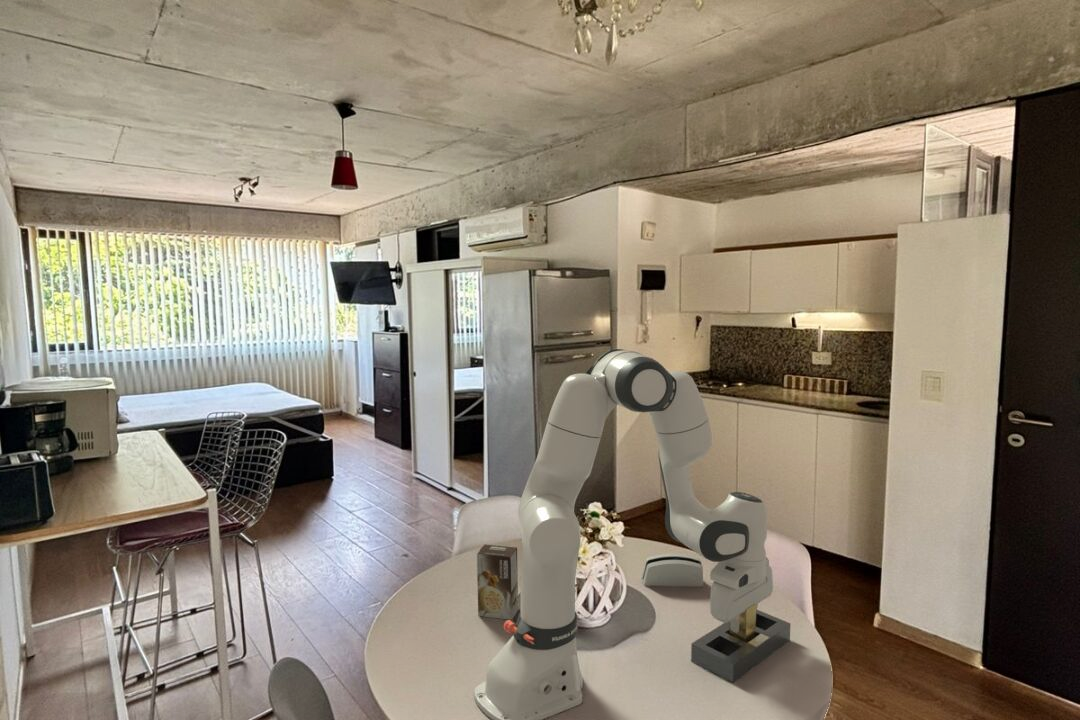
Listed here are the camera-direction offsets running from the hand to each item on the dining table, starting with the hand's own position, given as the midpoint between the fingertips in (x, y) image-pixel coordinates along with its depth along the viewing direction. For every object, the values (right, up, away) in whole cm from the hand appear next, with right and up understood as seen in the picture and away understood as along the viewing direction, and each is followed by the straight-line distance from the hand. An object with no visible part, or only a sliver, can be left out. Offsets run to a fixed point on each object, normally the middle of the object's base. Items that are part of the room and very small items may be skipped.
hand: (742, 626), depth 130 cm
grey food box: (-55, -5, +17) cm, 58 cm away
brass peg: (0, -4, 0) cm, 4 cm away
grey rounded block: (-8, -3, +32) cm, 34 cm away
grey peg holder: (0, -6, +1) cm, 6 cm away
